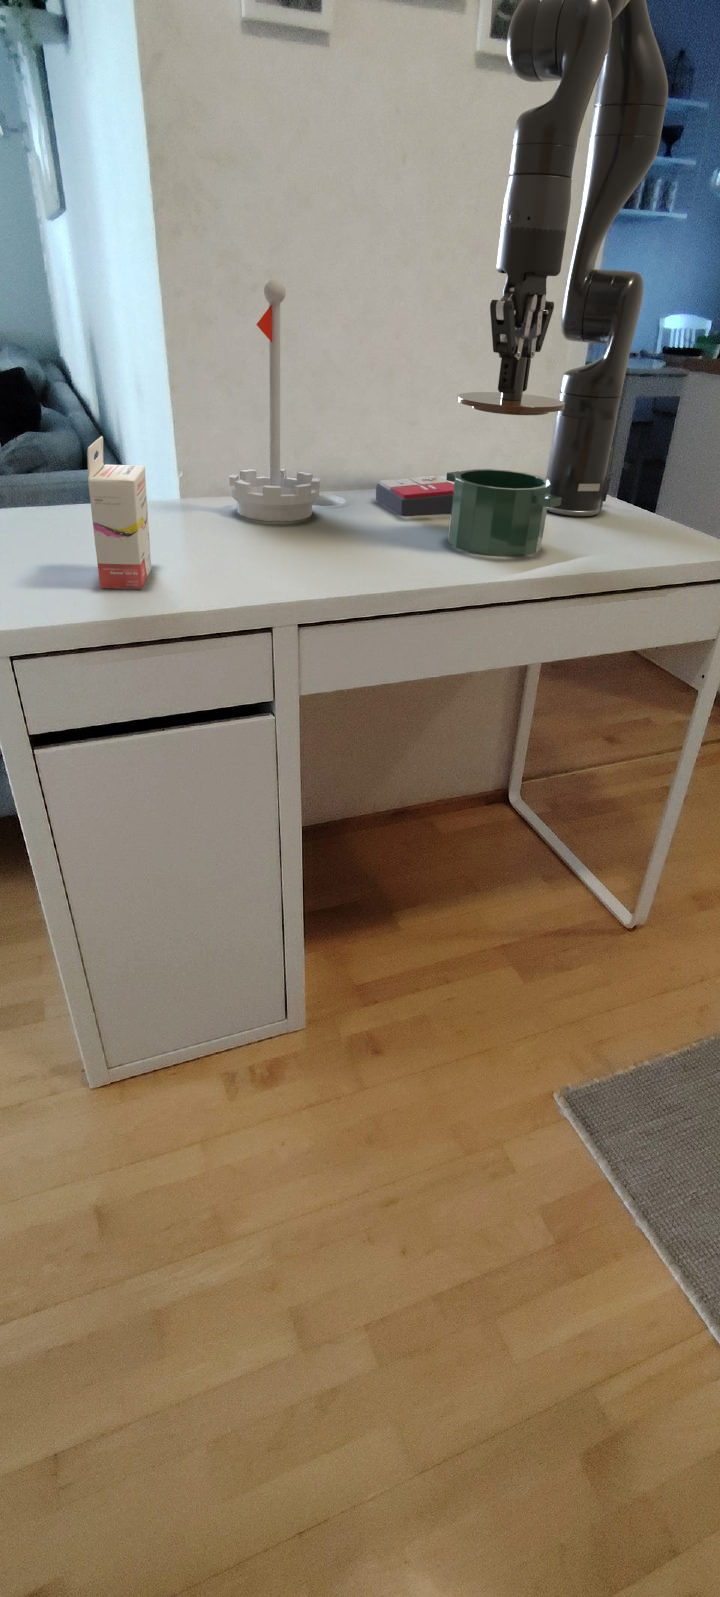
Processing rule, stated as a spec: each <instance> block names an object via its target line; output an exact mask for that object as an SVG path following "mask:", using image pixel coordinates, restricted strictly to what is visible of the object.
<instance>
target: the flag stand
mask: <svg viewBox="0 0 720 1597" xmlns="http://www.w3.org/2000/svg"><path fill="white" fill-rule="evenodd" d="M262 288H263V289H262V291H263V296H264V299H265V300H266V301H267V302H268V308H267V310H266V311H265V312H264V313H263V315H262V316H261V318H260V319H259V320H258V321H257V323H256V324H255V325H256V326H257V328H259V330H260V331H261V332H262V333H263V335H264V336H265V337H266V338H267V339H268V383H269V384H268V395H269V396H268V398H269V399H268V400H269V402H268V403H269V404H268V407H269V408H268V409H269V411H268V414H269V415H268V416H269V420H268V421H269V423H268V424H269V427H268V428H269V430H268V432H269V433H268V434H269V468H268V476H257V470H256V469H253V468H251V469H244V470H239V474H238V473H231V474H229V495H230V496H231V497H232V498H233V499H234V501H235V502H237V513H238V514H239V515H240V516H242V517H245V518H247V519H251V520H258V521H265V522H266V521H267V522H291V521H293V522H294V521H300V520H304V519H307V518H309V517H311V516H312V514H313V504H314V503H315V502H316V501H317V500H318V499H319V498H320V484H321V483H320V478H319V477H314V474H312V473H309V472H305V471H298V472H296V478H294V477H287V469H284V468H281V303H282V302H283V301H284V300H285V299H286V294H287V291H286V286H285V284H284V283H283V282H282V281H281V280H280V279H279V278H270V279H268V280H267V281H266V282H265V283H264V285H263V287H262Z"/></svg>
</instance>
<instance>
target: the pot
mask: <svg viewBox="0 0 720 1597" xmlns="http://www.w3.org/2000/svg"><path fill="white" fill-rule="evenodd" d="M446 476H447V477H446V480H448V481H451V482H454V485H453V495H452V505H451V514H449V523H448V524H449V525H448V533H447V534H448V535H447V540H448V544H450V545H451V546H453V547H454V548H455V549H456V548H457V549H458V550H461V551H465V552H468V553H472V554H478V555H482V556H490V557H505V558H509V557H510V558H511V557H525V556H530V555H533V554H537V553H538V552H539V551H541V549H542V544H543V537H544V531H545V525H546V519H547V514H548V511H547V507H554V506H559V505H560V504H561V497H558V496H554V495H550V489H551V483H550V482H549V480H547V479H546V477H545V478H544V477H542V476H540V475H536V474H532V473H528V472H523V471H515V470H509V469H508V470H507V469H495V468H494V469H493V468H484V469H483V468H481V469H480V468H479V469H477V468H475V469H468V470H467V469H465V470H461V471H459V470H456V471H450V472H446Z"/></svg>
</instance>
